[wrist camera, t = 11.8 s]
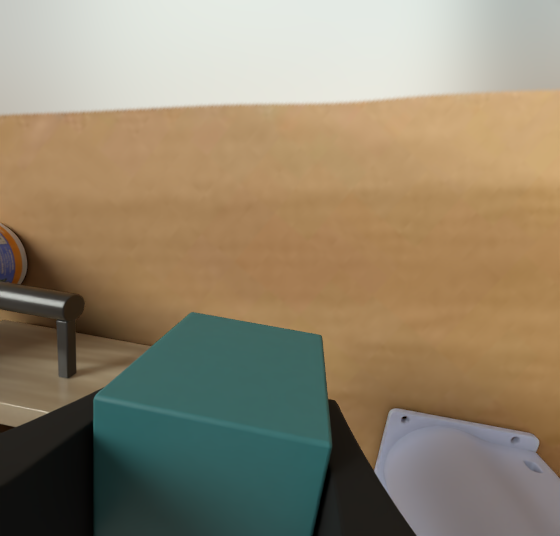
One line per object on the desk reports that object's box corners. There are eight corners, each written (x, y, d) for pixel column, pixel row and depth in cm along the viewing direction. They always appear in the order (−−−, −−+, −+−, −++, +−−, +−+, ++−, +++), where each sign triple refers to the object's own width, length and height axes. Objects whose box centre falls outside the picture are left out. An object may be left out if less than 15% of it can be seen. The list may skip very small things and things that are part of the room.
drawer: (-1, 255, 19) (-166, 279, 13) (159, 281, 18) (73, 321, 12) (17, 472, 23) (-102, 578, 16) (149, 502, 22) (81, 627, 16)
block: (322, 334, 9) (333, 445, 5) (300, 447, 10) (294, 626, 6) (190, 310, 10) (90, 396, 5) (181, 422, 11) (91, 574, 6)
